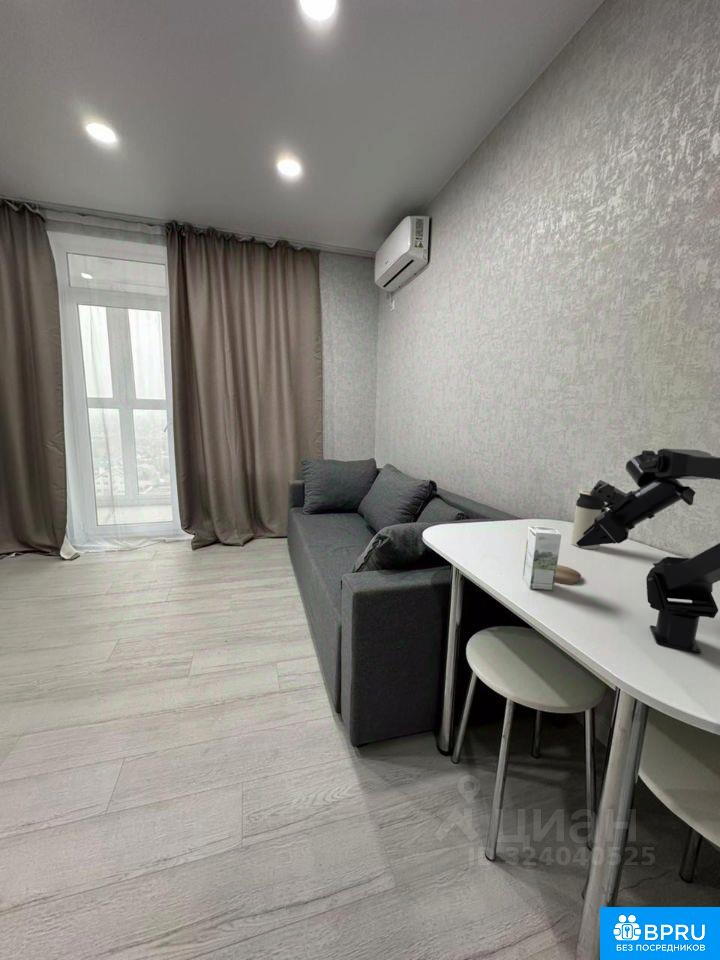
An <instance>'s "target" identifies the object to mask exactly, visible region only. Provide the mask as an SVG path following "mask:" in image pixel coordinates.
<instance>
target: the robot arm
mask: <svg viewBox="0 0 720 960" xmlns="http://www.w3.org/2000/svg"><path fill="white" fill-rule="evenodd" d="M625 470H626V472H627V473H628V475H630V477H631V478H632V480H633V481H634V483H635V484H636V485H637V487H639V488H638V489H636V490H630V491H629V492H624V491H622V490H621V489H619V488H617V487H615V485H611V484H610V483H609V482H605V481H604V480H601V479H600V480H598V481H597V483H596V484H595V485H594V487H592V489H591V492H590V495H592V496H593V497H597V498H599V499H601V500H602V501H604V502H605V506H604V507H603V508H602V510H601V514H600V515H598V516H597V517H596V518H595V519H594V523H593V524H592V525H591V526H590V527H589V528H588V529H587V530H586V531H585V532H584V533H583V535H584V536H583V537H582V538H581V539H580V540H579V541H577V542H576V544H577V545H578V546H579V547H578V548H580V547H583V546H591V545H607V544H608V545H610V544H614V545H615V544H618V545H619V544H621V543H622V542H624V541H626V540H628V538H629V533H630V531H631V530H633V529H634V528H635V527H636V525H638V524H640V523H642V522H644V521H646V520H648V519H650V520H651V519H653V518H654V517H655V515H657V514H658V513H659V512H662V511H663V510H665V509H668V508H669V507H671V506H673V505H675V504H676V503H677V502H679V501H683V502H684V503H685V504H686V505H688V506H692V505H694V504H693V503H694V497H695V494H696V491H695V490H694V489H693V488H692V487H691V486H689V485H688V486H687V485H686V486H684V485H683V484H682V483H681V481H680V480H690V481H691V480H695V481H696V480H706V479H713V480H719V481H720V457H719V456H713V455H712V454H711V453H710V452H707V451H702V450H699V449H682V448H661V449H659V450H657V453H656V452H655V451H654V450H647V449H646V450H642V451H641V454H638V455H636V456H633V457H632V458H631V459H629V461H627V462H626V464H625ZM652 565H653V567H652V568H650V570H649V571H648V574H647V576H646V578H645V579H646V580H645V582H646V595H647V603H648V604H650V605H649V607H650V608H651V609H653V610H656V611H658V614H657V620H656V625H652V624H651V625H649V629H650V632H651V634H652V636H653V638H654V641H655V643H657V645H662V646H664V647H665V646H666V647H671V648H674V649H678V650H683V651H686V652H690V653H695V654H699V655H700V654H702V649H701V648H700V647H699V646H700V645H699V644H698V643H697V641H696V638H697V632H698V628H699V627H698V626H699V621H700V618H701V617H702V618H710V619H714V618H715V617H716V615H717V614H718V612H719V608H718V606H717V603H716V601H715V598H714V597H713V594H712V593H713V590H714V589H713V588H714V587H713V586H714V584H715V583H717V582H720V542H719V543H716V544H715V545H713V546H711V547H709V548H707V549H706V550H704V551H701V552H699V553H698V554H697V555H694V556H693V557H691V558H689V557H688V558H687V557H678V556H677V557H676V556H675V557H674V556H665V557H663V558H662V559H661V560H660V561H658V562H655V563H654V562H653V564H652ZM669 599H670V600H669ZM673 599H674V600H673ZM675 600H676V601H675ZM677 600H684V601H677ZM689 601H691V602H689Z"/></svg>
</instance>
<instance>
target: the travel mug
mask: <svg viewBox="0 0 720 960" xmlns="http://www.w3.org/2000/svg"><path fill="white" fill-rule="evenodd" d="M591 491H592V489H591V490H589V489H582V490H579V491H578V493H579V497H578V498H577V500H576V506H575V512H574V520H573V529H572V537H571V544H572V545H574V546H575V547H576V548H577V547H578V548H581V549H585V550H597V549H600V545H601V544H600V545H591V546H583V547H579V546H578V545H577V544H576V542H577V541H579V540H580V539H581V538H582V537H583V536H584V535H583V533H584V532H585V531H586V530H587V529H588V528H589V527H590V526H591V525H592V524H593V523H594V519H595V518H596V517H597V516H598V515H600V514H601V510H602V508H603V507H604V506H605V504H606V502H604V501H602V500H601V499H599V498H597V497H593V496H592V495H590V492H591Z"/></svg>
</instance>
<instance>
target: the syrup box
mask: <svg viewBox="0 0 720 960" xmlns="http://www.w3.org/2000/svg"><path fill="white" fill-rule="evenodd" d="M526 537H527V538H526V545H525V546H526V547H525V554H524V562H523V563H524V564H523V573H522V580H523V582H524V583H525V584H526V586H528V588H529V589H530V590H539V591H540V590H541V591H542V590H543V591H555V583H556V582H555V578H556V570H557V565H558V562H559V555H560V554H559V553H560V548H561V540H562V534H561V533H560V532H559V531H558V530H557V529H556V528H554V527H552V526H536V525H535V526H534V525H528V529H527V536H526Z"/></svg>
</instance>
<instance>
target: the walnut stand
mask: <svg viewBox="0 0 720 960" xmlns="http://www.w3.org/2000/svg"><path fill="white" fill-rule="evenodd" d="M581 579H582V574H581V573H580V572H579V571H577V570H576V569H574V568H571V567H568V566H565V565H560V564H557V570H556V578H555V583H557V584H565V585H575V584H579V583H580V582H581Z"/></svg>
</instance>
